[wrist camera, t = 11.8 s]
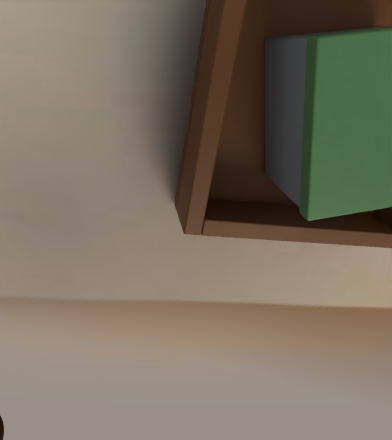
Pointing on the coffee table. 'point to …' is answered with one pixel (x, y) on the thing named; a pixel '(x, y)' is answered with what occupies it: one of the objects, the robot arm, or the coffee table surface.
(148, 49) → the coffee table surface
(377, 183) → the container
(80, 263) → the coffee table surface
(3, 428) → the robot arm
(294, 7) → the tray
